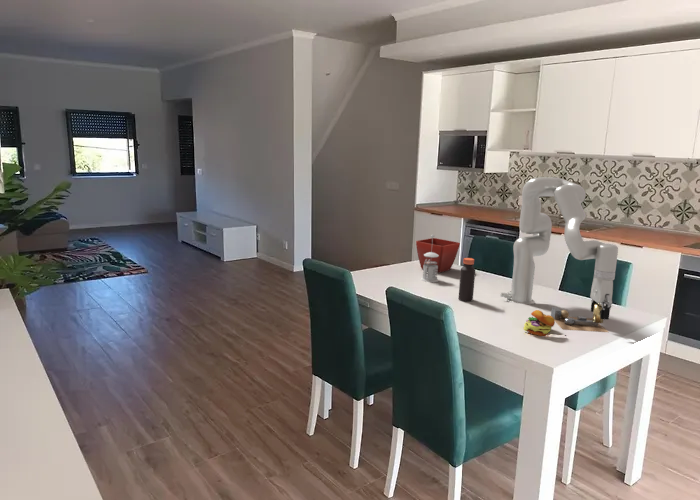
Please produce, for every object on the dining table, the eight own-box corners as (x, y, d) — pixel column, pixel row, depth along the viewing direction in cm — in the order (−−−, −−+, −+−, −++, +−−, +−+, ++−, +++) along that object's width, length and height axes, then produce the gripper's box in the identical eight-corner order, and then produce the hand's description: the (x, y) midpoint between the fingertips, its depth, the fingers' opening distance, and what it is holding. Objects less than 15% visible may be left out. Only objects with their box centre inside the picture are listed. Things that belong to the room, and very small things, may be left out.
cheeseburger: (517, 327, 207) (525, 304, 205) (541, 333, 208) (549, 311, 207) (528, 336, 197) (536, 312, 195) (553, 342, 198) (561, 319, 197)
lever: (566, 325, 208) (568, 304, 206) (562, 320, 213) (564, 301, 211) (604, 327, 207) (607, 306, 205) (599, 323, 212) (601, 303, 210)
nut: (560, 319, 215) (561, 311, 215) (558, 316, 219) (559, 308, 218) (569, 320, 215) (570, 311, 214) (566, 317, 219) (567, 309, 218)
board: (562, 332, 204) (562, 329, 203) (549, 318, 220) (549, 315, 220) (608, 335, 202) (609, 332, 202) (592, 320, 219) (592, 318, 219)
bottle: (475, 300, 243) (479, 259, 239) (468, 302, 238) (471, 261, 234) (463, 296, 248) (466, 256, 244) (455, 299, 243) (458, 258, 239)
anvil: (554, 319, 215) (555, 310, 214) (550, 315, 220) (551, 306, 219) (560, 320, 215) (561, 310, 214) (556, 316, 220) (557, 307, 219)
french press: (441, 279, 280) (444, 234, 275) (433, 283, 270) (436, 237, 265) (425, 276, 285) (428, 232, 280) (416, 280, 275) (419, 235, 270)
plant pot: (458, 270, 303) (460, 242, 299) (440, 275, 289) (442, 246, 286) (431, 264, 316) (433, 237, 312) (413, 268, 302) (415, 241, 299)
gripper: (586, 269, 213) (582, 308, 217) (603, 279, 196) (598, 321, 200) (605, 270, 213) (600, 309, 216) (623, 280, 196) (618, 322, 199)
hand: (599, 315), depth 208 cm, fingers open, 9 cm apart
